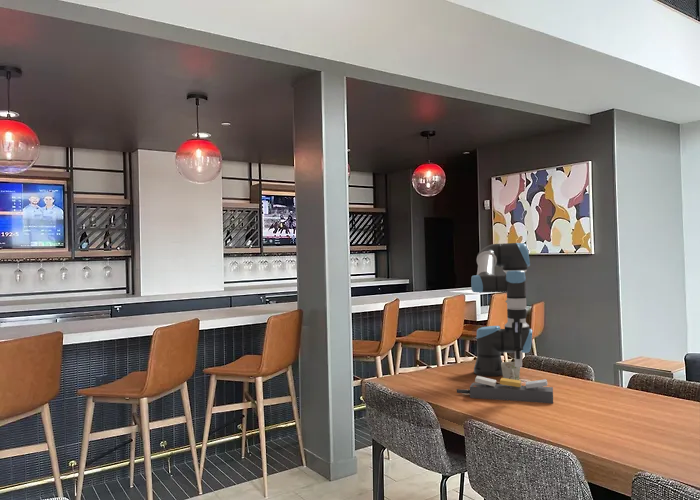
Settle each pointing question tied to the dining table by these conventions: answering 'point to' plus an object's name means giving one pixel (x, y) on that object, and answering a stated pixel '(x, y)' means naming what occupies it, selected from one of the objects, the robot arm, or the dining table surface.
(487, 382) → the block
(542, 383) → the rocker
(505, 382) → the block
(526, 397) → the power strip
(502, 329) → the robot arm
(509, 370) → the mug
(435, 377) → the dining table surface
